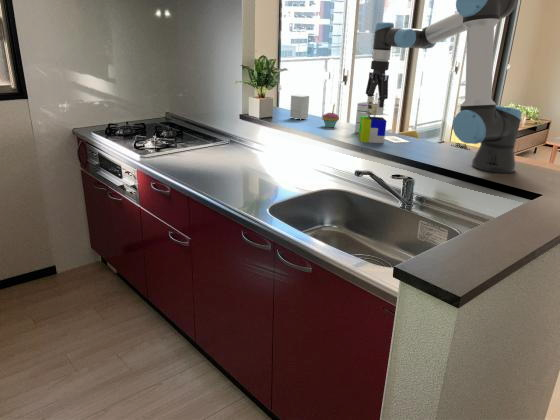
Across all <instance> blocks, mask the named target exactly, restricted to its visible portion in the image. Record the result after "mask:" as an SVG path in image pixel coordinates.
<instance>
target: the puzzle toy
mask: <svg viewBox="0 0 560 420" xmlns="http://www.w3.org/2000/svg"><path fill="white" fill-rule="evenodd" d="M386 129H387V120H386V119H385V118H384V117H382V116H370V117H368V116H361V119H360V128H359V133H358V139H359V140H360V142H361V143H374V144H384V143H385V139H384V138H385V136H386Z"/></svg>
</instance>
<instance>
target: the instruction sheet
mask: <svg viewBox="0 0 560 420" xmlns="http://www.w3.org/2000/svg"><path fill="white" fill-rule="evenodd" d="M384 141H388V142H391V143H394V144H399V143H400V144H401V143H410V141H409V140H407V139H403V138H401V137H398V136H396V135H385V138H384Z"/></svg>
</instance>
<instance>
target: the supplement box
mask: <svg viewBox="0 0 560 420" xmlns="http://www.w3.org/2000/svg"><path fill="white" fill-rule="evenodd" d="M290 97H291V98H290V110H289V113H290V114H289V118H290V117H293V118H297V119H300V120H299V121H302V120H301V119H306V118H308V119H309V107H310V106H309V105H310V95H306V94H305V95H304V94H292V95H290ZM306 120H307V119H306Z"/></svg>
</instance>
